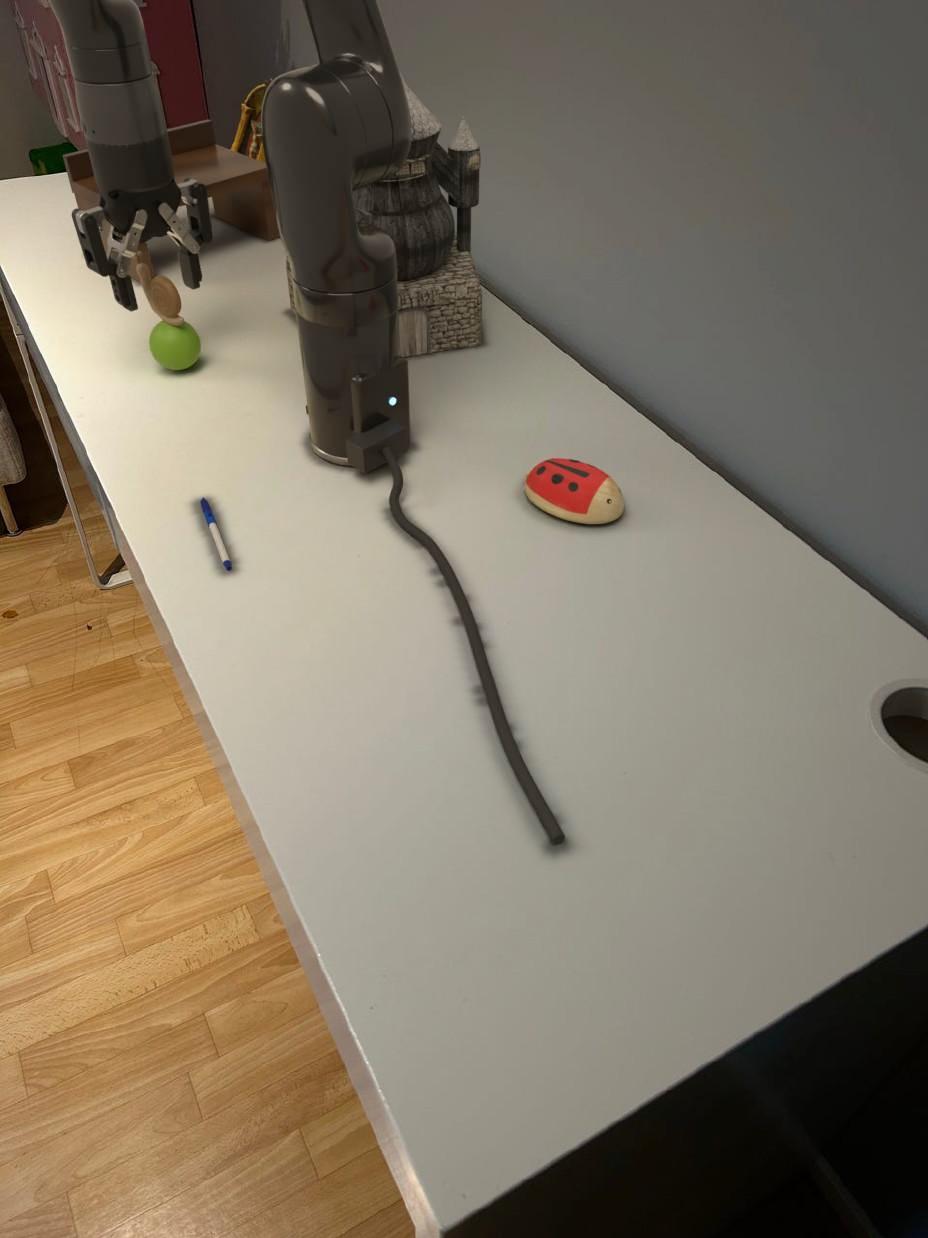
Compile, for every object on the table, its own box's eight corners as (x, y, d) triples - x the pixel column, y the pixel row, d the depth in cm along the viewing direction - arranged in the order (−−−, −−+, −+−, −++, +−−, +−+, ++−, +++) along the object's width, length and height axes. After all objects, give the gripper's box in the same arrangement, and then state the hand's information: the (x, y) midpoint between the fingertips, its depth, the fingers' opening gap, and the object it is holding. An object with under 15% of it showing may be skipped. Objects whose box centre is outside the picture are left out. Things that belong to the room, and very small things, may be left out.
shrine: (283, 176, 150) (270, 70, 140) (294, 193, 144) (282, 84, 134) (210, 184, 147) (192, 76, 137) (219, 201, 141) (201, 91, 131)
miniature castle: (317, 370, 104) (283, 64, 83) (289, 308, 115) (254, 25, 95) (507, 342, 109) (519, 48, 89) (463, 285, 120) (465, 12, 100)
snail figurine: (178, 347, 107) (156, 243, 99) (215, 365, 105) (194, 259, 96) (139, 365, 104) (112, 259, 96) (175, 384, 101) (151, 275, 93)
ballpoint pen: (197, 504, 86) (195, 496, 85) (207, 502, 86) (205, 493, 85) (226, 572, 79) (224, 563, 78) (236, 570, 79) (235, 561, 79)
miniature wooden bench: (281, 238, 131) (269, 141, 123) (145, 284, 120) (121, 181, 111) (223, 211, 138) (207, 118, 130) (88, 253, 127) (62, 154, 118)
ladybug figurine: (606, 539, 82) (611, 506, 80) (507, 505, 86) (509, 473, 83) (635, 500, 87) (640, 468, 84) (539, 469, 90) (542, 438, 88)
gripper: (75, 154, 82) (121, 331, 93) (212, 120, 90) (238, 287, 101) (34, 135, 86) (82, 307, 97) (168, 104, 93) (198, 267, 105)
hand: (162, 296), depth 99 cm, fingers open, 7 cm apart
